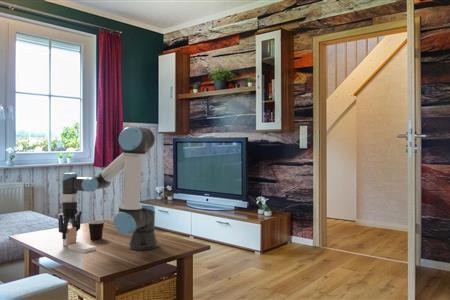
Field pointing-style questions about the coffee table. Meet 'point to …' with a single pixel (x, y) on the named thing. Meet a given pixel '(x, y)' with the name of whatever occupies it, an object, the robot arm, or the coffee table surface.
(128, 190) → the robot arm
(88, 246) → the pad
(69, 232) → the stub
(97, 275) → the coffee table surface
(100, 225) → the coffee mug
